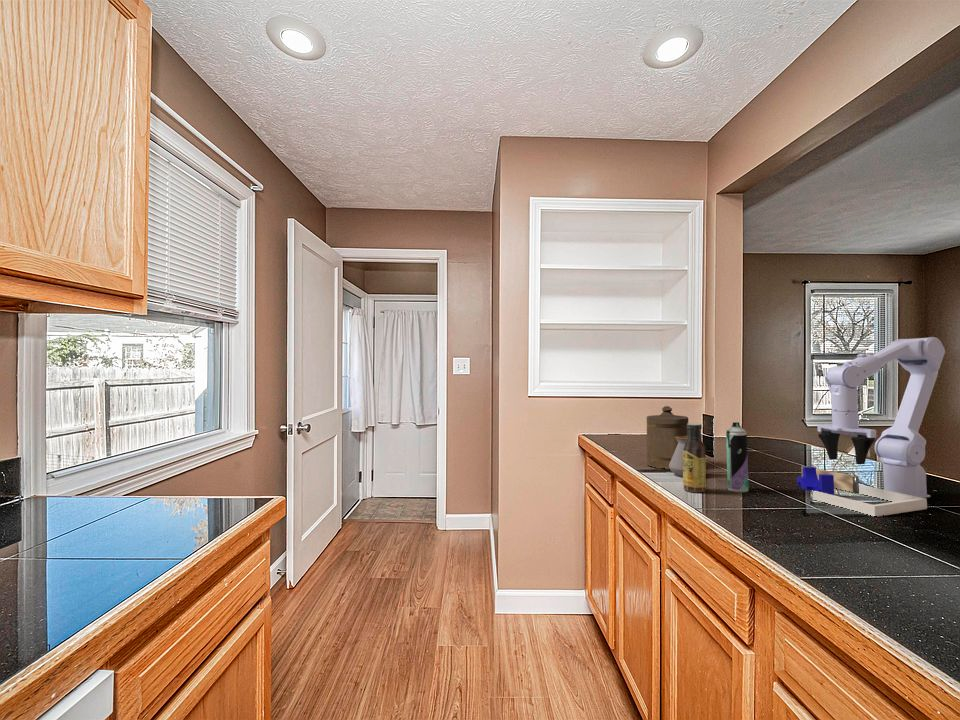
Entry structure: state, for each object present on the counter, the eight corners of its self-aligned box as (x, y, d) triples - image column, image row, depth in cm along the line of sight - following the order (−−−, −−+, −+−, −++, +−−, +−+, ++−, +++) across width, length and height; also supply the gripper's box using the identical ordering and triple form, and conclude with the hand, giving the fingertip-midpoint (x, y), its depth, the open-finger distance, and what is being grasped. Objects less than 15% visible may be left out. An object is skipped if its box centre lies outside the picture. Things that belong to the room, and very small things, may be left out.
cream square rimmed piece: (856, 492, 143) (855, 475, 143) (927, 508, 126) (926, 489, 126) (807, 499, 137) (807, 481, 138) (875, 516, 121) (874, 496, 121)
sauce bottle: (679, 488, 152) (677, 422, 153) (699, 487, 153) (697, 422, 153) (690, 494, 146) (688, 425, 146) (711, 493, 146) (708, 424, 147)
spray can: (740, 493, 145) (738, 423, 146) (723, 489, 150) (721, 422, 151) (752, 490, 148) (750, 422, 148) (735, 486, 153) (733, 420, 153)
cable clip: (797, 486, 152) (797, 466, 152) (814, 487, 151) (813, 467, 151) (816, 496, 140) (815, 475, 140) (834, 497, 140) (833, 475, 140)
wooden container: (690, 463, 191) (688, 404, 191) (689, 471, 177) (687, 408, 177) (649, 461, 197) (647, 404, 197) (645, 468, 183) (643, 407, 183)
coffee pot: (666, 471, 177) (665, 428, 178) (701, 472, 175) (700, 428, 175) (677, 485, 156) (675, 437, 157) (717, 486, 154) (715, 437, 154)
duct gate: (855, 492, 143) (855, 476, 143) (853, 492, 143) (852, 476, 143) (804, 480, 158) (803, 466, 158) (801, 480, 158) (801, 466, 158)
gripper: (808, 409, 141) (810, 458, 141) (861, 413, 127) (863, 467, 127) (827, 408, 143) (829, 456, 143) (881, 412, 129) (883, 465, 129)
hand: (846, 461), depth 135 cm, fingers open, 7 cm apart
